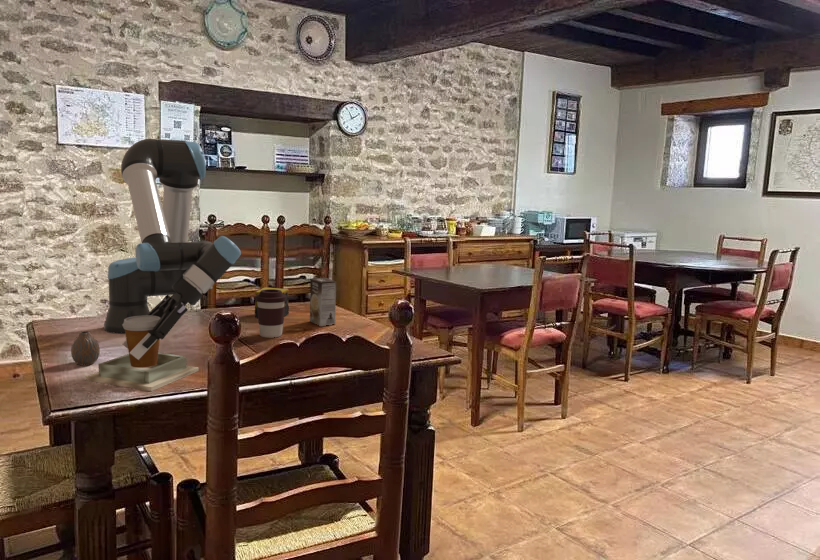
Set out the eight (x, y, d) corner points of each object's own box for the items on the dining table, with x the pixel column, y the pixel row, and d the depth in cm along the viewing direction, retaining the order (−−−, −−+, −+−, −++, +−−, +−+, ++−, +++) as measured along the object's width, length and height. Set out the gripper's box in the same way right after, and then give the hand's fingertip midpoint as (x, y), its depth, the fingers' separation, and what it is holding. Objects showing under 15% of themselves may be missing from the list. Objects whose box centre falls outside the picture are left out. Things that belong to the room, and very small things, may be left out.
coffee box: (308, 321, 232) (309, 278, 230) (324, 319, 236) (325, 277, 233) (320, 326, 225) (320, 282, 222) (336, 325, 228) (337, 280, 226)
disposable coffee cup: (168, 366, 163) (166, 320, 161) (128, 371, 157) (126, 324, 155) (158, 357, 170) (157, 313, 169) (120, 362, 165) (118, 317, 163)
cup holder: (85, 380, 159) (85, 364, 158) (137, 361, 176) (137, 347, 175) (151, 391, 153) (151, 375, 152) (198, 371, 170) (198, 356, 169)
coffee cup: (278, 340, 204) (279, 294, 202) (250, 337, 206) (250, 292, 204) (290, 333, 214) (291, 289, 212) (263, 330, 216) (263, 287, 213)
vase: (81, 368, 168) (79, 336, 167) (66, 364, 172) (64, 332, 170) (105, 362, 174) (104, 331, 172) (90, 358, 177) (89, 327, 176)
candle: (264, 312, 245) (264, 287, 243) (289, 314, 243) (289, 288, 242) (253, 318, 235) (254, 291, 233) (280, 320, 233) (280, 293, 232)
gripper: (215, 302, 161) (151, 371, 155) (191, 288, 179) (132, 350, 172) (194, 282, 157) (127, 353, 151) (171, 270, 175) (110, 333, 168)
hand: (130, 351), depth 161 cm, fingers closed on disposable coffee cup, 9 cm apart
